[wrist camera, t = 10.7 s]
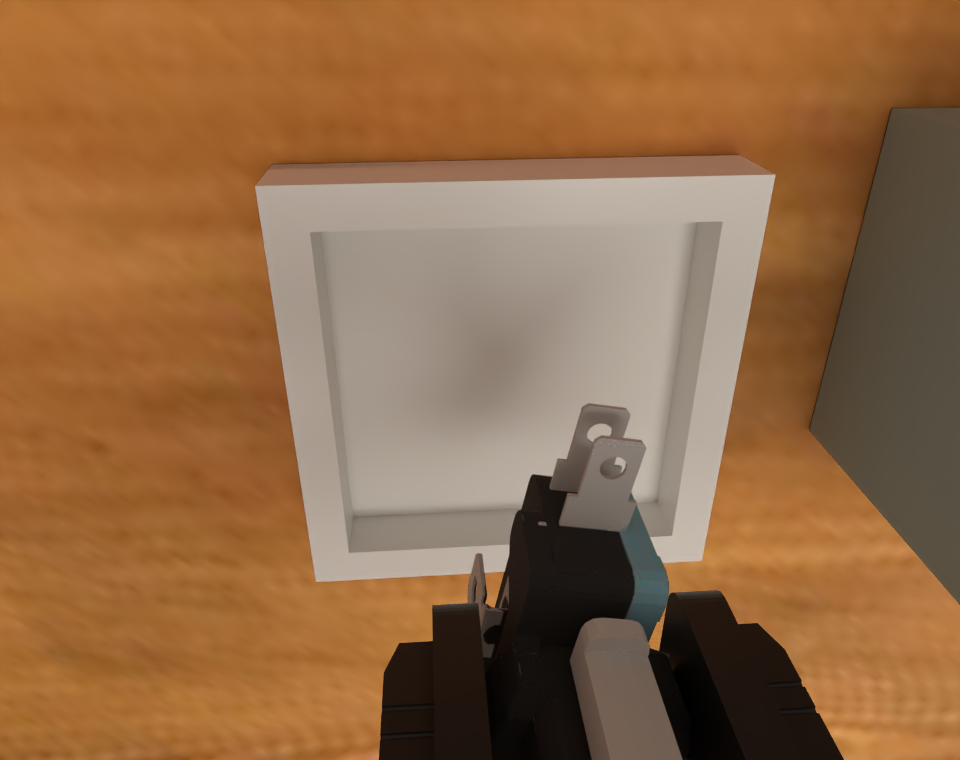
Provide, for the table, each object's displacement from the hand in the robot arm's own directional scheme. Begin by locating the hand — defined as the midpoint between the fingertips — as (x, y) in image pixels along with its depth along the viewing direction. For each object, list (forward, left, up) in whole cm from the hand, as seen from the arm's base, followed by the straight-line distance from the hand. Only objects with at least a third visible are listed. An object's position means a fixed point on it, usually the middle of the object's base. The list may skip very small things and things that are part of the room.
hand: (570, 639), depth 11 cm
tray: (0, 0, -9) cm, 9 cm away
